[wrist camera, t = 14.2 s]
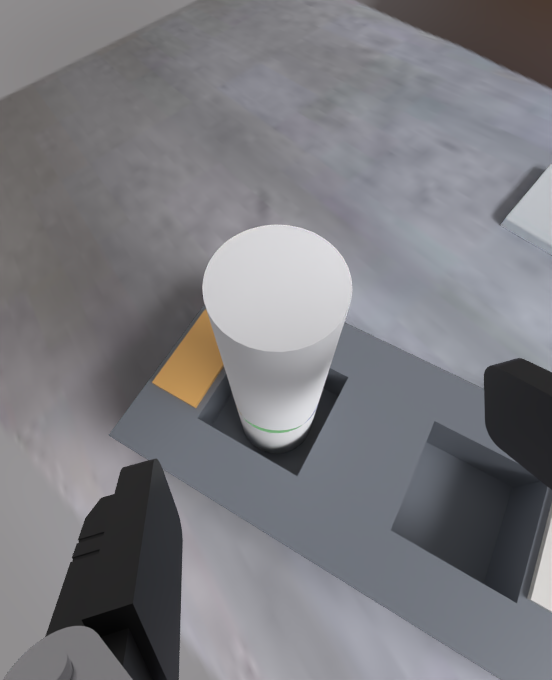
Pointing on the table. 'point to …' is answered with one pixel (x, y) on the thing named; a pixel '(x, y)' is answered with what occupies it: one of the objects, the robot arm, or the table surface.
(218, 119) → the table surface
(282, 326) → the tube
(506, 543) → the socket block
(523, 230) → the external hard drive
